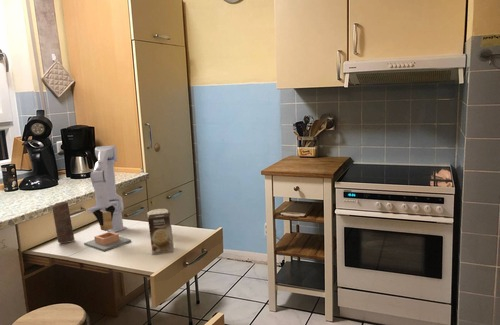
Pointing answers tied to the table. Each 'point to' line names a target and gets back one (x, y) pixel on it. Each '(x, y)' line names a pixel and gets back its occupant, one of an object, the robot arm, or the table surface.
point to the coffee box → (161, 233)
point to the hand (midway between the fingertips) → (105, 223)
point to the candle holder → (157, 211)
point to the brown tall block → (63, 222)
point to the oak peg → (106, 221)
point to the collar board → (107, 241)
